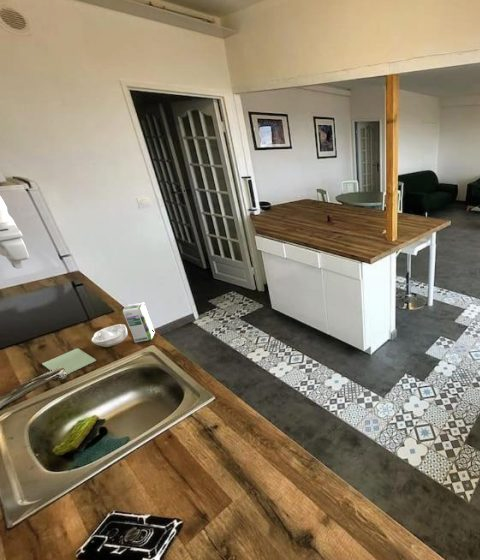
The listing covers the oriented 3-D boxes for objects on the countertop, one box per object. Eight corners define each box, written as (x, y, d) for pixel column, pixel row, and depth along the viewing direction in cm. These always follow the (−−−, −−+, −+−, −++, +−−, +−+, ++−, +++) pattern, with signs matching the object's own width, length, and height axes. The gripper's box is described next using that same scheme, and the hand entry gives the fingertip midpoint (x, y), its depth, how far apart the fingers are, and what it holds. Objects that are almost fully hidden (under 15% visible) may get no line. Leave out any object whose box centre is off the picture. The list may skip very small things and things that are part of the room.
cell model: (137, 333, 127) (132, 319, 124) (118, 351, 116) (111, 336, 113) (110, 334, 125) (104, 320, 122) (88, 353, 115) (80, 338, 112)
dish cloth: (59, 377, 103) (59, 377, 103) (42, 364, 109) (41, 363, 109) (96, 360, 111) (96, 359, 111) (78, 348, 117) (77, 348, 117)
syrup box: (134, 343, 121) (121, 311, 114) (138, 335, 125) (126, 304, 119) (152, 340, 123) (140, 308, 117) (155, 332, 128) (144, 301, 121)
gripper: (-26, 228, 109) (-5, 264, 115) (-5, 237, 101) (17, 276, 106) (1, 224, 114) (19, 259, 120) (23, 232, 106) (42, 269, 112)
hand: (18, 267), depth 113 cm, fingers closed
